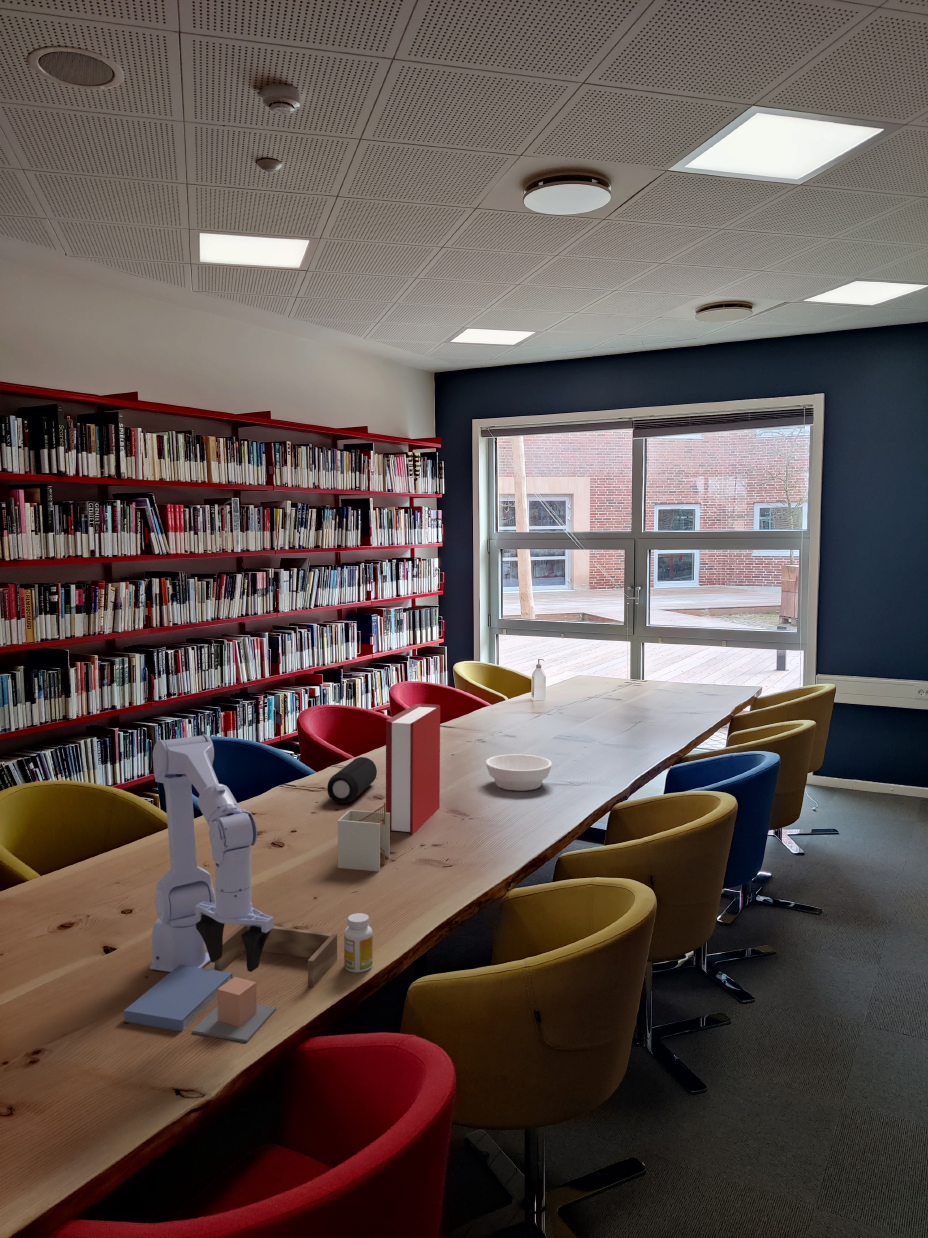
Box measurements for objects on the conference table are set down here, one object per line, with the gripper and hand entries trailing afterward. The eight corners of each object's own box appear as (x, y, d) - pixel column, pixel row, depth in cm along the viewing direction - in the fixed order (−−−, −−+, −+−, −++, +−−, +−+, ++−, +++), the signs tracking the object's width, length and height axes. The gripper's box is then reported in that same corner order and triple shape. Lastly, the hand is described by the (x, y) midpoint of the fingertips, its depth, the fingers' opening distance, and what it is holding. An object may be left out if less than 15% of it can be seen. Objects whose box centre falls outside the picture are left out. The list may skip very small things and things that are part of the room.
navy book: (182, 1035, 138) (181, 1020, 138) (124, 1024, 141) (124, 1010, 141) (232, 986, 153) (232, 973, 153) (179, 977, 156) (179, 965, 156)
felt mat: (192, 1033, 138) (192, 1030, 138) (224, 1001, 147) (224, 999, 147) (247, 1042, 135) (247, 1040, 135) (276, 1010, 145) (276, 1007, 145)
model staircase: (380, 873, 207) (380, 808, 206) (337, 869, 210) (337, 804, 208) (390, 860, 216) (390, 797, 214) (349, 857, 218) (349, 794, 217)
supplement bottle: (373, 959, 163) (373, 911, 162) (371, 973, 157) (371, 923, 157) (345, 959, 163) (345, 911, 162) (342, 973, 157) (342, 923, 156)
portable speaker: (351, 783, 286) (351, 754, 285) (379, 785, 284) (379, 756, 283) (324, 805, 261) (324, 773, 260) (355, 807, 259) (355, 775, 258)
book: (412, 835, 234) (413, 722, 231) (385, 832, 236) (385, 720, 234) (440, 806, 260) (441, 705, 258) (416, 804, 262) (416, 703, 260)
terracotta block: (217, 1020, 140) (217, 989, 140) (235, 1007, 145) (234, 977, 144) (239, 1027, 139) (239, 995, 138) (256, 1013, 143) (256, 982, 142)
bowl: (519, 773, 300) (520, 751, 299) (565, 788, 282) (566, 763, 282) (471, 784, 285) (471, 760, 285) (516, 800, 268) (517, 774, 267)
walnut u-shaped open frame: (215, 972, 157) (214, 947, 157) (244, 946, 168) (244, 922, 167) (313, 987, 152) (313, 961, 152) (337, 959, 163) (337, 934, 162)
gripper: (284, 884, 140) (284, 962, 141) (214, 870, 146) (215, 945, 147) (258, 900, 134) (258, 982, 135) (186, 885, 139) (187, 963, 140)
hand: (234, 964), depth 140 cm, fingers open, 7 cm apart
